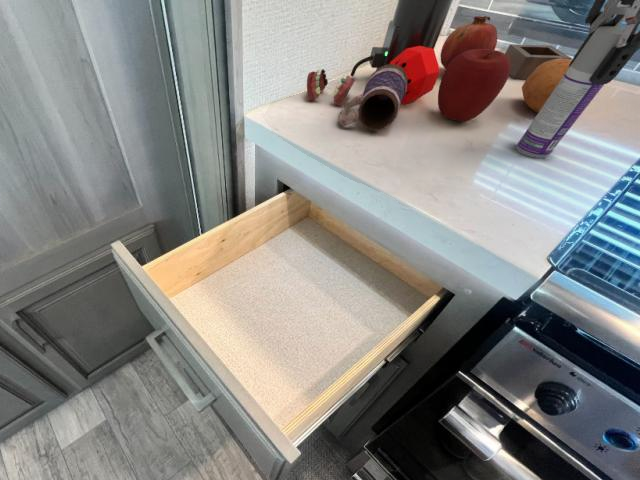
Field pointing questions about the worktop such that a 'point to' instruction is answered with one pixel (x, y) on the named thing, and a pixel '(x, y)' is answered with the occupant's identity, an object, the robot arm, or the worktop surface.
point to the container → (569, 96)
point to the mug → (377, 99)
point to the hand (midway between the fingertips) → (587, 75)
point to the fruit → (469, 39)
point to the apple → (472, 83)
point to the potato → (544, 82)
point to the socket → (530, 58)
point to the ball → (418, 71)
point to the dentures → (319, 81)
